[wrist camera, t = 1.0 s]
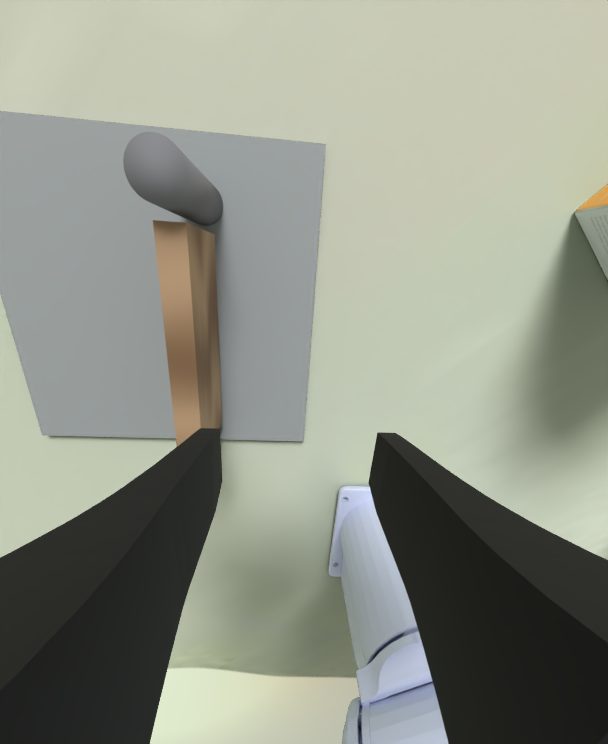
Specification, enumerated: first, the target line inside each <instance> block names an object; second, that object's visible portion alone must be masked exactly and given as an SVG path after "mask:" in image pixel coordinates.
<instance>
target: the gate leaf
mask: <svg viewBox="0 0 608 744" xmlns="http://www.w3.org/2000/svg"><path fill="white" fill-rule="evenodd" d="M153 228H154V238H155V247H156V256H157V266H158V275H159V284H160V294H161V303H162V312H163V322H164V331H165V341H166V350H167V359H168V369H169V378H170V387H171V397H172V406H173V415H174V425H175V434H176V443H177V447H178V446H179V445H180V444H181V443H182V442H184V441H185V440H186V439H187V438H189V437H190V436H191V435H192V434H193V433H195V432H196V431H197V430H199V429H200V428H216V429H219V428H220V426H221V423H222V408H221V383H220V358H219V333H218V308H217V283H216V259H215V234H212V233H210V232H207V231H205V230H203V229H200V228H198V227H195V226H193V225H191V224H188V223H183V222H170V221H158V220H153Z"/></svg>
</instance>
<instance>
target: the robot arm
mask: <svg viewBox="0 0 608 744" xmlns="http://www.w3.org/2000/svg"><path fill="white" fill-rule="evenodd" d="M221 483H222V465H221V443H220V429H216V428H200V429H199V430H197V431H196V432H195V433H193V434H192V435H191V436H190V437H189V438H187V439H186V440H185V441H184V442H182V443H181V444H180V445H179V446H178V447H176V448H175V449H174V450H173V451H171V452H170V453H169V454H167V455H166V456H165V457H164V458H162V459H161V460H160V461H159V462H157V463H156V464H155V465H153V466H152V467H151V468H149V469H148V470H146V471H145V472H144V473H142V474H141V475H140V476H138V477H137V478H135V479H134V480H133V481H131V482H130V483H128V484H127V485H126V486H124V487H123V488H121V489H120V490H118V491H117V492H115V493H114V494H112V495H111V496H109V497H108V498H106V499H105V500H103V501H101V502H100V503H98V504H97V505H95V506H93V507H92V508H90V509H88V510H87V511H85V512H83V513H82V514H80V515H79V516H77V517H75V518H73V519H72V520H70V521H68V522H66V523H65V524H63V525H61V526H59V527H57V528H55V529H54V530H52V531H50V532H48V533H46V534H44V535H42V536H41V537H39V538H37V539H35V540H33V541H31V542H30V543H28V544H26V545H24V546H22V547H20V548H18V549H17V550H15V551H13V552H11V553H9V554H7V555H5V556H3V557H1V558H0V744H150V739H151V735H152V731H153V726H154V722H155V718H156V713H157V709H158V705H159V701H160V697H161V693H162V689H163V684H164V680H165V676H166V672H167V668H168V664H169V660H170V656H171V652H172V648H173V644H174V640H175V636H176V632H177V628H178V625H179V621H180V617H181V613H182V609H183V606H184V602H185V599H186V596H187V593H188V589H189V586H190V583H191V581H192V578H193V575H194V572H195V569H196V566H197V563H198V560H199V557H200V555H201V552H202V549H203V546H204V543H205V540H206V537H207V534H208V531H209V529H210V526H211V523H212V520H213V517H214V514H215V511H216V506H217V502H218V498H219V493H220V488H221ZM369 485H370V487H368V486H344V487H342V488H340V490H339V493H338V501H337V508H336V516H335V523H334V530H333V538H332V545H331V552H330V560H329V567H328V571H329V575H330V576H332V577H341V582H342V587H343V593H344V599H345V605H346V611H347V616H348V622H349V628H350V634H351V640H352V646H353V651H354V656H355V660H356V664H357V666H358V670H357V671H356V676H357V682H358V688H359V693H360V697H358V698H355V699H353V700H352V701H351V703H350V705H349V708H348V712H347V718H346V722H345V726H344V730H343V738H342V744H608V560H606V559H604V558H602V557H600V556H597V555H595V554H593V553H591V552H589V551H587V550H585V549H583V548H581V547H579V546H577V545H575V544H573V543H571V542H569V541H567V540H565V539H563V538H561V537H559V536H557V535H555V534H553V533H551V532H549V531H547V530H545V529H543V528H541V527H539V526H538V525H536V524H534V523H532V522H530V521H528V520H527V519H525V518H523V517H521V516H520V515H518V514H516V513H514V512H513V511H511V510H509V509H507V508H506V507H504V506H502V505H500V504H499V503H497V502H495V501H494V500H492V499H491V498H489V497H487V496H486V495H484V494H483V493H481V492H479V491H478V490H476V489H475V488H473V487H472V486H470V485H469V484H467V483H466V482H464V481H463V480H461V479H460V478H458V477H457V476H455V475H454V474H452V473H451V472H450V471H448V470H447V469H445V468H444V467H443V466H441V465H440V464H438V463H437V462H436V461H434V460H433V459H431V458H430V457H429V456H427V455H426V454H425V453H423V452H422V451H421V450H419V449H418V448H416V447H415V446H414V445H412V444H411V443H410V442H408V441H407V440H405V439H404V438H402V437H401V436H399V435H398V434H396V433H377V439H376V444H375V450H374V456H373V461H372V467H371V472H370V478H369ZM345 497H347V498H346V499H343V498H345Z"/></svg>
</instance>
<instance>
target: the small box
mask: <svg viewBox="0 0 608 744" xmlns="http://www.w3.org/2000/svg"><path fill="white" fill-rule="evenodd" d="M575 216H576V218H577V220H578V222H579V224H580V226H581V228H582V230H583V231H584V233H585V236H586V238H587V240H588V242H589V243H590V245H591V247H592V249H593V251H594V253H595V255H596V258H597V260H598V262H599V264H600V266H601V268H602V270H603V272H604V274H605V276H606V278H607V280H608V184H607V185H606V186H605V187H604V188H603V189H601V190H600V191H599V192H598V193H596V194H595V195H594V196H593V197H591V198H590V199H589V200H588V201H587V202H585V203H584V204H583V205H582V206H580V207H579V208H578V209H577V210H576V211H575Z"/></svg>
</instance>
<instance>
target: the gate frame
mask: <svg viewBox="0 0 608 744" xmlns="http://www.w3.org/2000/svg"><path fill="white" fill-rule="evenodd" d="M325 146H326V144H320V143H311V142H301V141H291V140H281V139H271V138H261V137H251V136H242V135H232V134H222V133H212V132H202V131H192V130H183V129H173V128H163V127H153V126H143V125H133V124H124V123H114V122H104V121H94V120H84V119H74V118H64V117H55V116H45V115H35V114H25V113H15V112H5V111H0V294H1V298H2V301H3V304H4V308H5V311H6V314H7V318H8V321H9V325H10V328H11V331H12V335H13V338H14V341H15V345H16V348H17V352H18V355H19V358H20V362H21V365H22V368H23V372H24V375H25V379H26V382H27V385H28V389H29V392H30V396H31V399H32V402H33V406H34V409H35V412H36V416H37V419H38V423H39V426H40V429H41V433H42V435H48V436H91V437H135V438H176V434H175V425H174V415H173V406H172V397H171V387H170V378H169V369H168V359H167V350H166V341H165V331H164V322H163V312H162V303H161V294H160V284H159V275H158V266H157V256H156V247H155V238H154V228H153V220H158V221H170V222H183V223H188V224H191V225H193V226H195V227H198V228H200V229H203V230H205V231H207V232H210V233H212V234H215V259H216V283H217V308H218V333H219V358H220V383H221V408H222V423H221V426H220V428H219V429H220V439H223V440H266V441H303V440H304V426H305V413H306V400H307V386H308V373H309V360H310V346H311V333H312V320H313V306H314V293H315V280H316V266H317V253H318V240H319V226H320V213H321V200H322V186H323V173H324V160H325Z"/></svg>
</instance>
